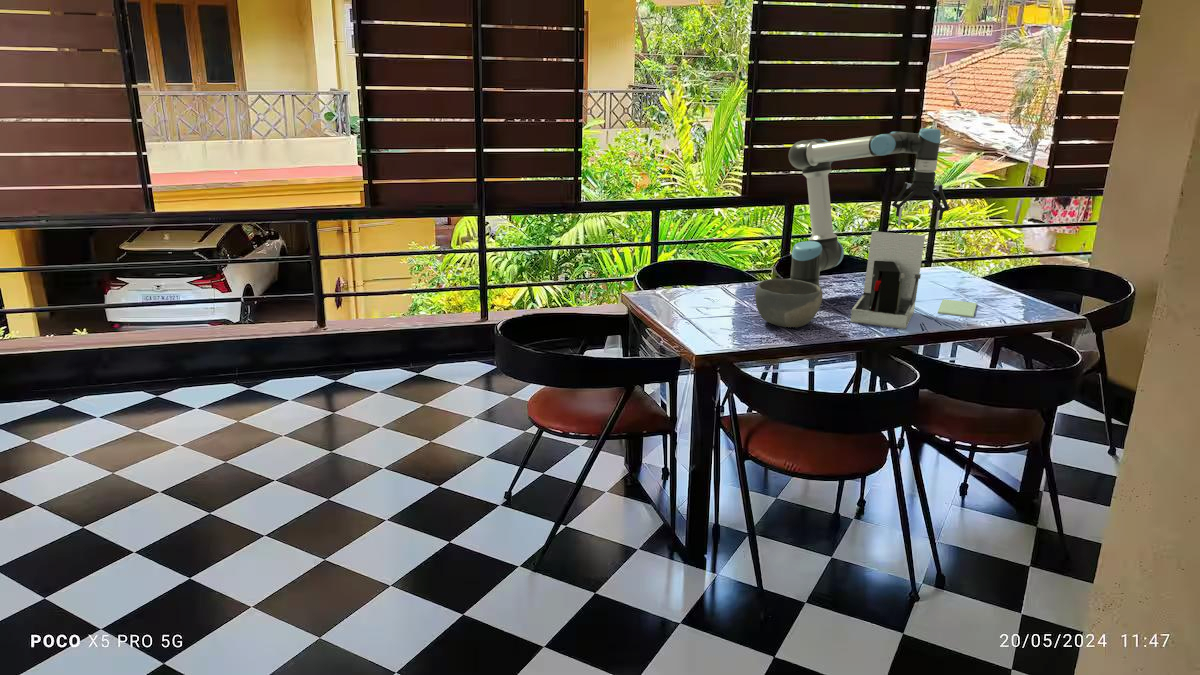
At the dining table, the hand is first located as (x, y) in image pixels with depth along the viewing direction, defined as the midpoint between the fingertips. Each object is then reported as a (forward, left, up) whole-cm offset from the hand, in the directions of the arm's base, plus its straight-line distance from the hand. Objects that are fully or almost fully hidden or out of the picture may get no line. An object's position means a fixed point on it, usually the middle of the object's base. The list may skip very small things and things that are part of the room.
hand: (917, 226), depth 323 cm
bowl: (-38, -38, -34) cm, 64 cm away
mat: (+18, +15, -34) cm, 41 cm away
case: (-7, -8, -34) cm, 36 cm away
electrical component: (-7, -11, -34) cm, 37 cm away
